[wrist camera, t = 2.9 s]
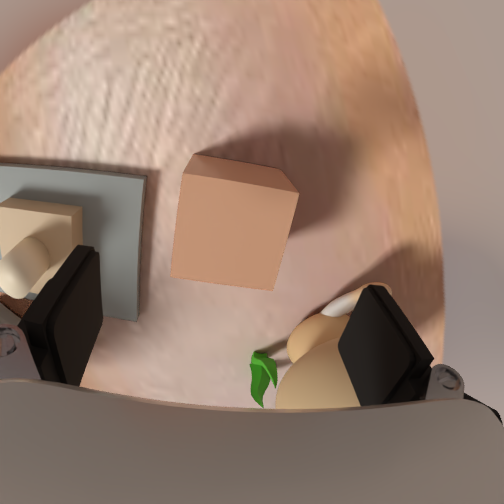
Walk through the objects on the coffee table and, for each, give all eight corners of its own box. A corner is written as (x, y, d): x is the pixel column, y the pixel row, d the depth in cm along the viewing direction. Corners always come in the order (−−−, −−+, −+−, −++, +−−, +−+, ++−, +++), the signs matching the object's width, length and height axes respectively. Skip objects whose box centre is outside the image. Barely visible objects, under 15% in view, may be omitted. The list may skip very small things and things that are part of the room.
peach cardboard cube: (280, 169, 22) (299, 193, 16) (261, 246, 24) (272, 290, 19) (193, 154, 21) (182, 173, 15) (181, 234, 23) (170, 277, 18)
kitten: (275, 393, 32) (298, 520, 19) (218, 341, 28) (222, 499, 15) (399, 324, 29) (470, 441, 16) (365, 252, 25) (466, 390, 12)
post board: (146, 176, 21) (119, 205, 15) (138, 314, 26) (122, 369, 20) (-21, 161, 18) (-71, 184, 13) (-7, 283, 23) (-41, 322, 18)
